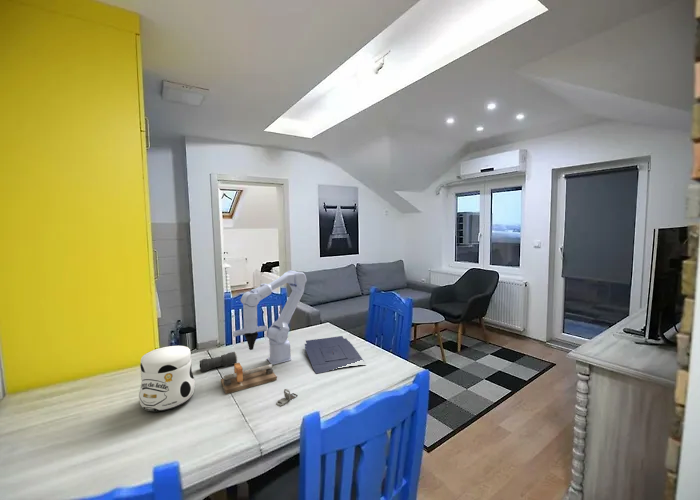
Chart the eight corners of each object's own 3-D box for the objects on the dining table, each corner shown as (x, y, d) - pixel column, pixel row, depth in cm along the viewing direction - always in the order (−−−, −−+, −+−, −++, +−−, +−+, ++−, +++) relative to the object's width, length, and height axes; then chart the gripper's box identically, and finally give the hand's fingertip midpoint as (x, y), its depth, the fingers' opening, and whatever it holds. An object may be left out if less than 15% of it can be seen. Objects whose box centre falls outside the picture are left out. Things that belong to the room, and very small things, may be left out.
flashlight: (200, 374, 129) (200, 362, 129) (198, 369, 134) (198, 357, 133) (237, 365, 138) (237, 353, 138) (234, 360, 142) (234, 349, 142)
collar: (239, 374, 124) (239, 362, 123) (242, 381, 119) (242, 368, 118) (234, 376, 123) (234, 363, 122) (237, 382, 118) (237, 369, 117)
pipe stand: (269, 370, 133) (269, 359, 132) (276, 379, 124) (276, 368, 124) (221, 382, 122) (220, 370, 122) (225, 394, 114) (225, 381, 113)
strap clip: (280, 407, 106) (280, 396, 105) (275, 404, 108) (275, 393, 107) (298, 396, 113) (298, 386, 112) (292, 394, 114) (292, 383, 114)
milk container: (135, 422, 97) (132, 369, 96) (143, 395, 112) (141, 349, 111) (195, 407, 105) (193, 358, 104) (195, 384, 120) (193, 341, 119)
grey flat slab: (345, 340, 166) (345, 334, 165) (366, 370, 138) (366, 363, 138) (301, 345, 157) (301, 339, 157) (315, 379, 130) (315, 371, 129)
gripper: (235, 324, 124) (236, 356, 125) (269, 318, 132) (269, 348, 133) (231, 320, 130) (232, 350, 131) (264, 314, 138) (265, 343, 139)
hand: (251, 349), depth 133 cm, fingers closed
